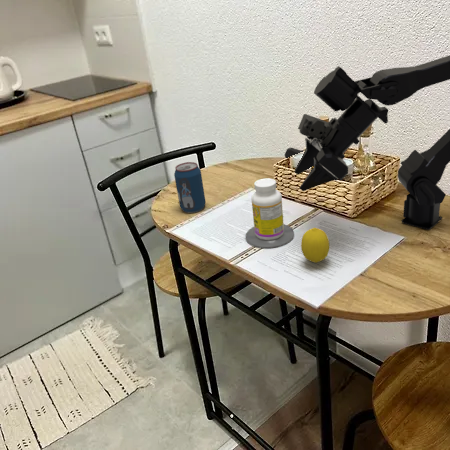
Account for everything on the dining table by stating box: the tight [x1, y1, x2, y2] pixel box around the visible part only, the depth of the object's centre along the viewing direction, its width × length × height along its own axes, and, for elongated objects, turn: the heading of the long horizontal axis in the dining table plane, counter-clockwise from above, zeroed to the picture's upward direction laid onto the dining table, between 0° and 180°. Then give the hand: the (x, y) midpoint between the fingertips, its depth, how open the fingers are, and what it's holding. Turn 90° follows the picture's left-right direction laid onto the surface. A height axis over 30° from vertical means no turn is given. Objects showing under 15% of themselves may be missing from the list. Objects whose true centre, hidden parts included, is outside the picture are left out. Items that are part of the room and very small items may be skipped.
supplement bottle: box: [251, 177, 285, 240], centre depth 104 cm, size 7×7×13 cm
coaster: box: [245, 224, 295, 249], centre depth 107 cm, size 11×11×1 cm
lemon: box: [300, 227, 330, 264], centre depth 94 cm, size 6×6×8 cm
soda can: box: [173, 161, 206, 214], centre depth 123 cm, size 7×7×12 cm
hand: (298, 181), depth 101 cm, fingers open, 9 cm apart
